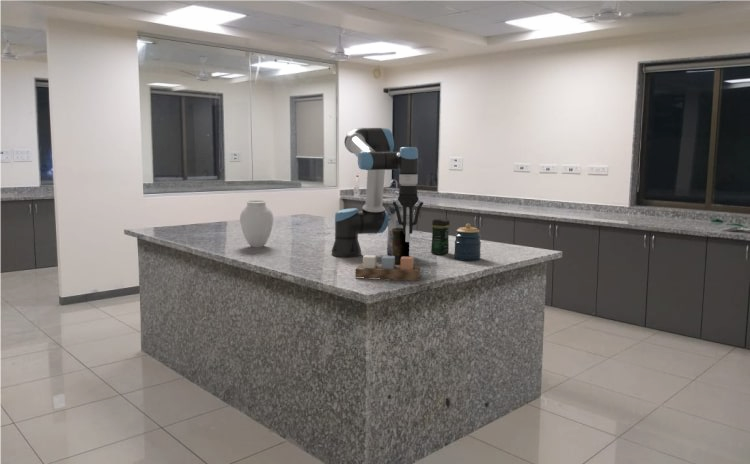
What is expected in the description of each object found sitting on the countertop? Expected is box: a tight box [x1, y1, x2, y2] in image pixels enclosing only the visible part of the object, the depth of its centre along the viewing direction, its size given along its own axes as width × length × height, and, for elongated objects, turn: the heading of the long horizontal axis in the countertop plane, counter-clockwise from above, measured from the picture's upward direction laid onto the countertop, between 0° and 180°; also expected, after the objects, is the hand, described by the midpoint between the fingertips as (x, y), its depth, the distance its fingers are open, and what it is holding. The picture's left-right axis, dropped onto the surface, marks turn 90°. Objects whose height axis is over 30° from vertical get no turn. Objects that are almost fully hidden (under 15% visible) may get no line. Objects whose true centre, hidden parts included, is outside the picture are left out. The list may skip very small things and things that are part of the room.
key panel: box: [355, 263, 421, 282], centre depth 243 cm, size 26×11×4 cm, turn 81°
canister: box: [453, 223, 482, 262], centre depth 284 cm, size 13×13×18 cm
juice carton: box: [386, 202, 409, 256], centre depth 290 cm, size 9×10×27 cm
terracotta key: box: [400, 256, 415, 270], centre depth 241 cm, size 5×5×6 cm
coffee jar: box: [430, 217, 450, 255], centre depth 298 cm, size 10×8×19 cm
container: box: [392, 228, 410, 265], centre depth 260 cm, size 9×9×18 cm
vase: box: [239, 200, 274, 248], centre depth 314 cm, size 18×18×25 cm
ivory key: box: [362, 254, 377, 268], centre depth 244 cm, size 5×5×6 cm
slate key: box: [381, 255, 395, 269], centre depth 242 cm, size 5×5×6 cm
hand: (407, 241), depth 240 cm, fingers closed
